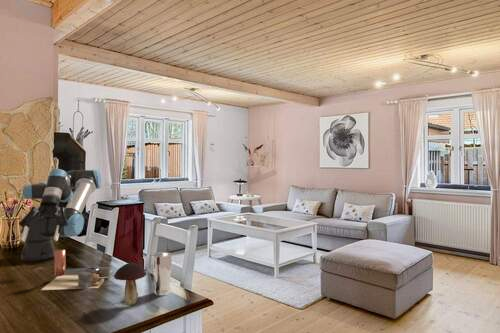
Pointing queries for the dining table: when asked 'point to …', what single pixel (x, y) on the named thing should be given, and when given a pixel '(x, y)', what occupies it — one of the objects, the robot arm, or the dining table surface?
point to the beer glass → (162, 272)
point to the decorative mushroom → (130, 280)
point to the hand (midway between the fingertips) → (39, 240)
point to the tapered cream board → (74, 282)
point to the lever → (61, 268)
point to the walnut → (94, 277)
